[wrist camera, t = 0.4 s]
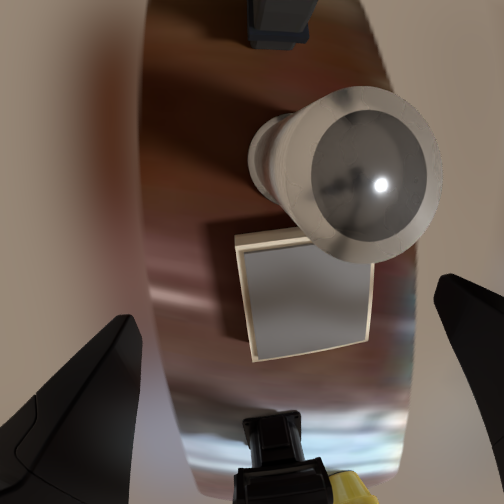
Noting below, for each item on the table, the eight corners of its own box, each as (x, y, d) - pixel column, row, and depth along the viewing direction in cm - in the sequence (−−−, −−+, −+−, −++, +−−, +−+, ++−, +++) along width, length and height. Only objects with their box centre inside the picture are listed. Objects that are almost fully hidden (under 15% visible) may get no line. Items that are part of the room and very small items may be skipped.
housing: (341, 201, 22) (445, 259, 10) (253, 211, 22) (281, 288, 10) (334, 112, 19) (442, 85, 8) (241, 118, 19) (258, 75, 7)
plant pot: (343, 489, 40) (354, 528, 31) (297, 491, 38) (306, 535, 29) (377, 464, 37) (394, 506, 28) (331, 465, 35) (346, 515, 26)
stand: (357, 324, 26) (369, 343, 23) (250, 343, 25) (252, 365, 23) (360, 219, 22) (377, 229, 19) (234, 235, 22) (235, 248, 19)
